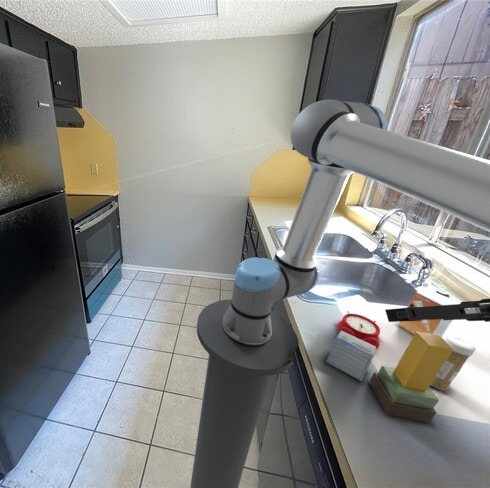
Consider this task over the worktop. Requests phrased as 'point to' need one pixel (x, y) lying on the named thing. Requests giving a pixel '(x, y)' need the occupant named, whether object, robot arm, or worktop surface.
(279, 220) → the worktop surface
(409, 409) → the green brown square block
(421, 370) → the yellow bar
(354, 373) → the medicine box
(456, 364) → the sprinkles bottle
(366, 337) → the alarm clock
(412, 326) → the small box
